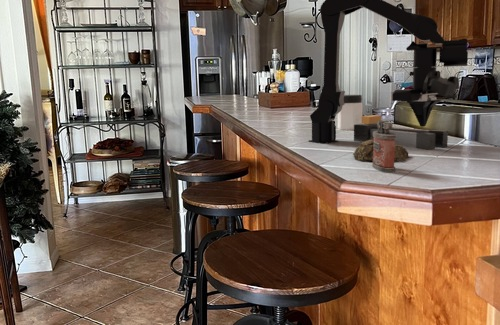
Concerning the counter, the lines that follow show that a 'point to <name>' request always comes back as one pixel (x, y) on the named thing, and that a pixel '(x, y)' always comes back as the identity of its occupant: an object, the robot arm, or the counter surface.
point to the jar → (350, 112)
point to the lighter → (384, 147)
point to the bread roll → (367, 148)
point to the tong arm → (440, 135)
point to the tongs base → (402, 138)
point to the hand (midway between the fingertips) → (422, 126)
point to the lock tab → (371, 119)
